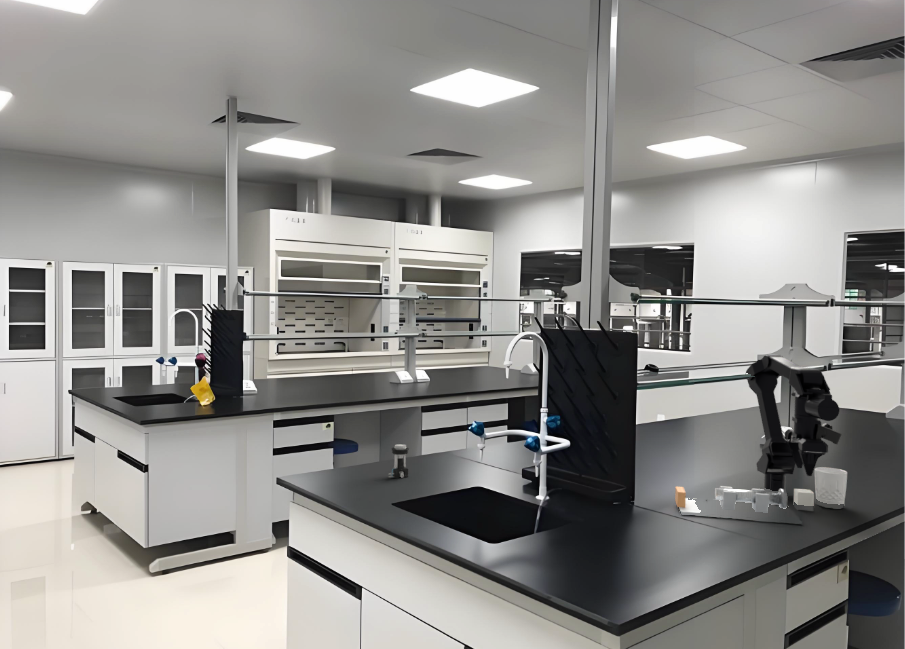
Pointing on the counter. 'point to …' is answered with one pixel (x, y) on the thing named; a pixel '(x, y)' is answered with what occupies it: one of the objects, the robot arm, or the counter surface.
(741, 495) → the shaft
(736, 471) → the counter surface
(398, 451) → the push button
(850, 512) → the counter surface
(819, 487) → the white cup
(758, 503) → the bearing rail
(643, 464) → the counter surface
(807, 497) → the block
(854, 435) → the counter surface
